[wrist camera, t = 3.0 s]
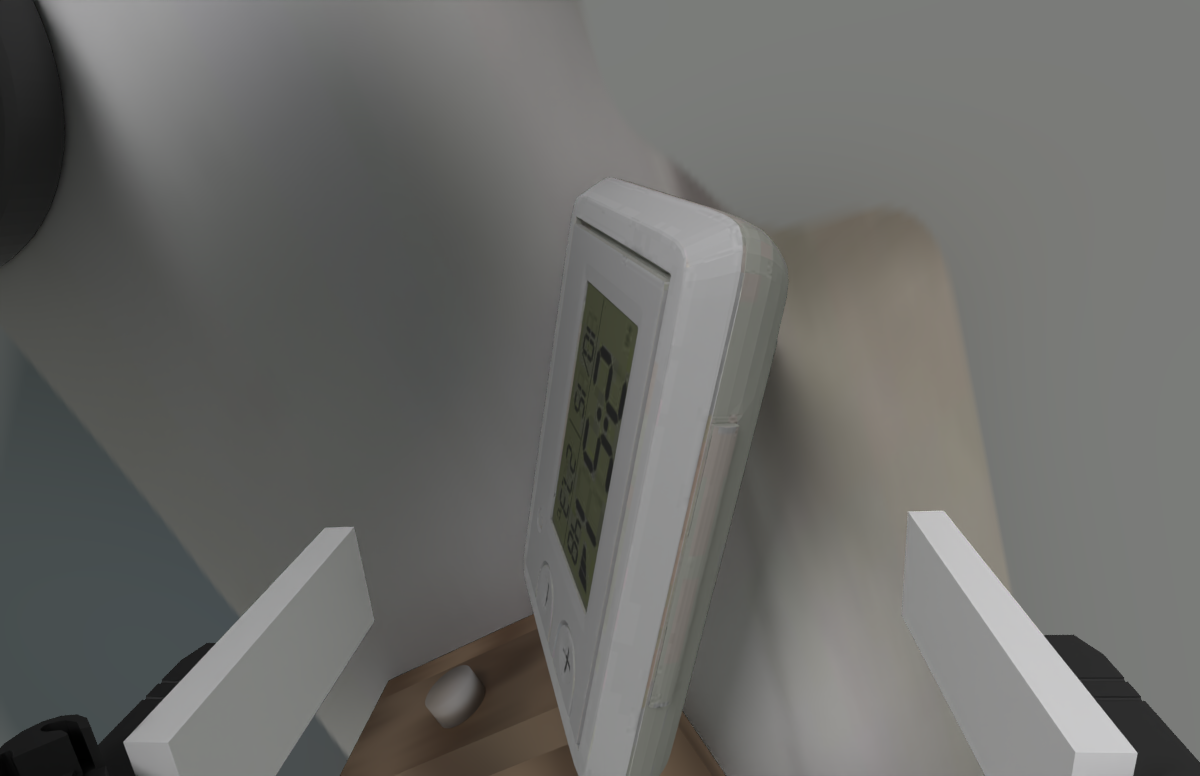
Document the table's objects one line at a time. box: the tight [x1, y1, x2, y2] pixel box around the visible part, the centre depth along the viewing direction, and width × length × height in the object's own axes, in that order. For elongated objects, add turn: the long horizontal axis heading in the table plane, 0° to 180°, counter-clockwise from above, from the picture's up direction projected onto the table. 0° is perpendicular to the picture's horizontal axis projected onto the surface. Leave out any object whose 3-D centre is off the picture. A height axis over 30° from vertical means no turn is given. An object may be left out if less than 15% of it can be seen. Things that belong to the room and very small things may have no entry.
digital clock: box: [524, 177, 788, 776], centre depth 21 cm, size 16×9×11 cm, turn 159°
